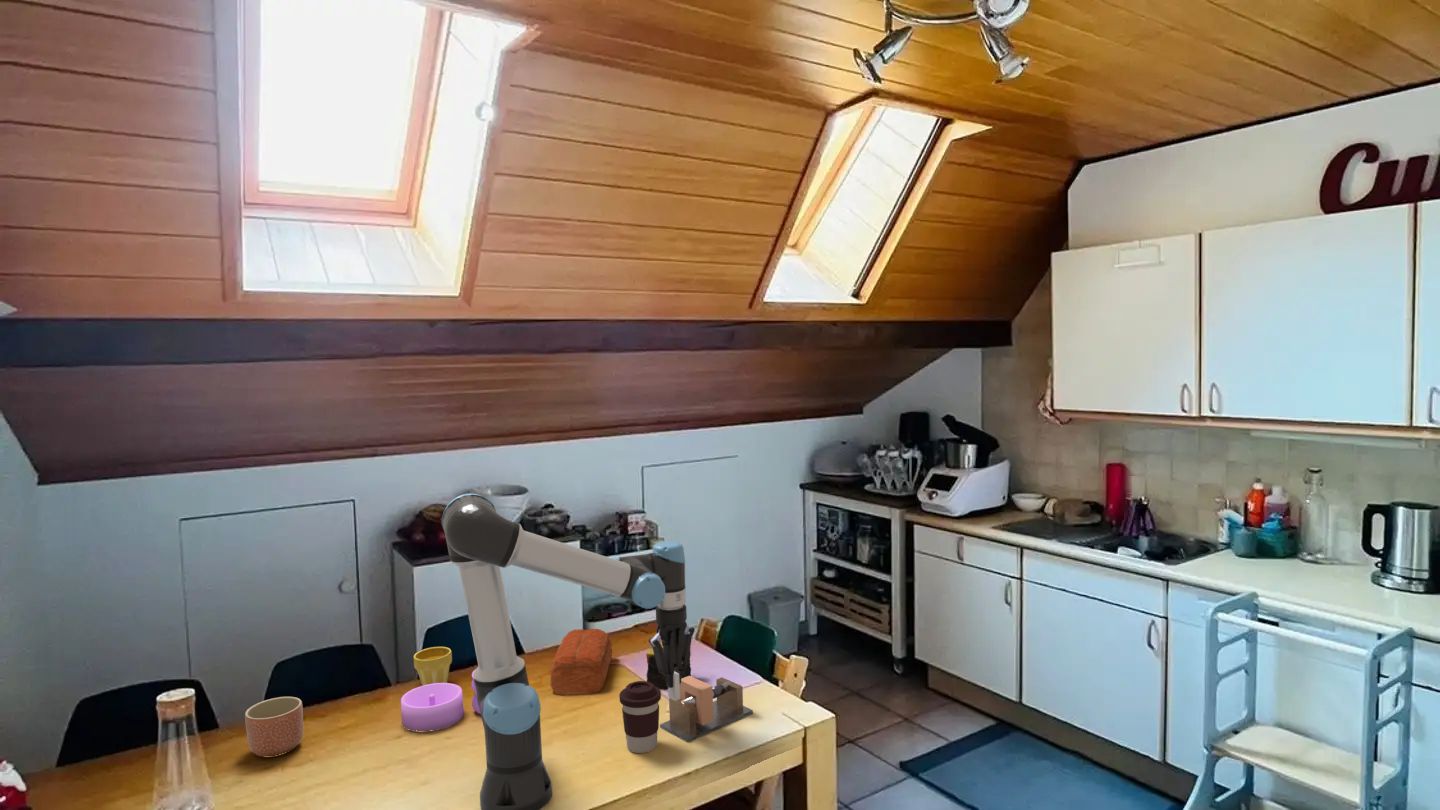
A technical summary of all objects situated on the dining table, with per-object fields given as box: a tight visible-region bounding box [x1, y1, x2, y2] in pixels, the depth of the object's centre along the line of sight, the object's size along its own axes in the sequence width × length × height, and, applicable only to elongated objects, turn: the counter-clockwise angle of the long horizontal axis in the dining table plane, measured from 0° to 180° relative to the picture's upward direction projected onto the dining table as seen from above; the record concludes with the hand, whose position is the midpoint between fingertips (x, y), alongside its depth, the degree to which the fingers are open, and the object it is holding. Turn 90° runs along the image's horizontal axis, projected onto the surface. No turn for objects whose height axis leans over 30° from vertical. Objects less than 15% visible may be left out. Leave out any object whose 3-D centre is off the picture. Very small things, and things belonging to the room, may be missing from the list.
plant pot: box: [413, 646, 453, 686], centre depth 239 cm, size 10×10×10 cm
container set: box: [400, 668, 481, 732], centre depth 220 cm, size 25×15×13 cm, turn 106°
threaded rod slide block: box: [659, 677, 754, 743], centre depth 213 cm, size 22×11×8 cm, turn 132°
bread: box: [549, 628, 613, 696], centre depth 243 cm, size 16×27×11 cm, turn 1°
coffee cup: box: [618, 680, 662, 754], centre depth 200 cm, size 10×10×15 cm
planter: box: [244, 696, 304, 757], centre depth 203 cm, size 12×12×11 cm
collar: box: [680, 675, 714, 725], centre depth 210 cm, size 4×9×9 cm, turn 42°
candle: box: [645, 643, 692, 691], centre depth 237 cm, size 10×10×10 cm
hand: (674, 698), depth 205 cm, fingers closed
